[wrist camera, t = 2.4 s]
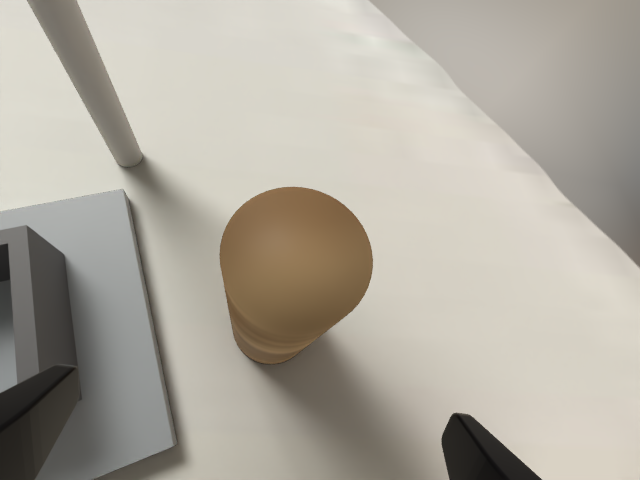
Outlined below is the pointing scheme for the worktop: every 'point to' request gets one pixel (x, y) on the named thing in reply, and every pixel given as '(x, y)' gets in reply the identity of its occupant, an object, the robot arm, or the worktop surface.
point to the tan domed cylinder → (291, 270)
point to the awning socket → (85, 290)
